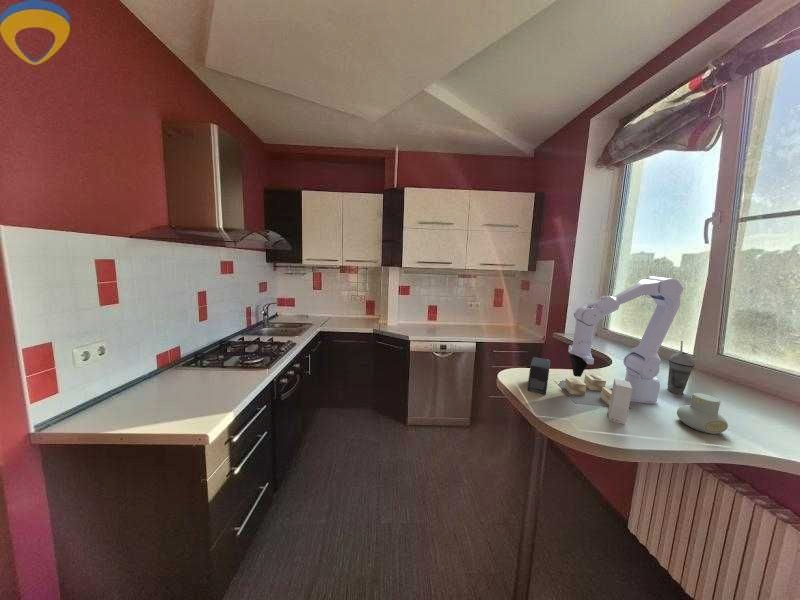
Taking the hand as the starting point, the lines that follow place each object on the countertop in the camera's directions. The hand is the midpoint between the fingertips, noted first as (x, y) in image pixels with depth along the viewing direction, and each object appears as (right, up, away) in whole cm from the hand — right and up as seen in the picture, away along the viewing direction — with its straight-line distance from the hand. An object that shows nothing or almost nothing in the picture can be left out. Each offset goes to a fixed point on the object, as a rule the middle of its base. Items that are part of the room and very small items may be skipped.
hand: (577, 375), depth 109 cm
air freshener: (+26, -11, -18) cm, 34 cm away
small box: (-13, -6, +3) cm, 15 cm away
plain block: (0, -6, +1) cm, 6 cm away
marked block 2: (+9, -8, -5) cm, 13 cm away
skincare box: (+3, -10, -16) cm, 19 cm away
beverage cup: (+42, -8, +7) cm, 44 cm away
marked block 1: (+10, -6, +5) cm, 13 cm away
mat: (+5, -7, +1) cm, 8 cm away
